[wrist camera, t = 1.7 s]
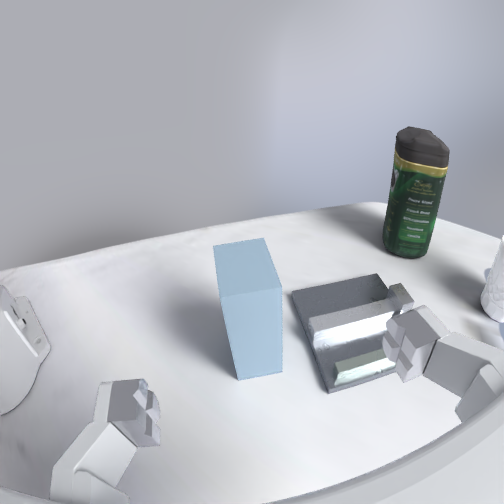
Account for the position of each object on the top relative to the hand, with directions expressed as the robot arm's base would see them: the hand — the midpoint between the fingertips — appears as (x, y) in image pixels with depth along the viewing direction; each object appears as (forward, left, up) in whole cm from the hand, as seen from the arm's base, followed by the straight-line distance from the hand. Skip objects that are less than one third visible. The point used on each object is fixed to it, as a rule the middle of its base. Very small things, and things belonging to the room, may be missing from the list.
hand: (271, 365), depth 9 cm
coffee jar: (-10, +38, -19) cm, 43 cm away
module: (-12, +7, -19) cm, 23 cm away
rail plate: (-6, +18, -19) cm, 26 cm away
